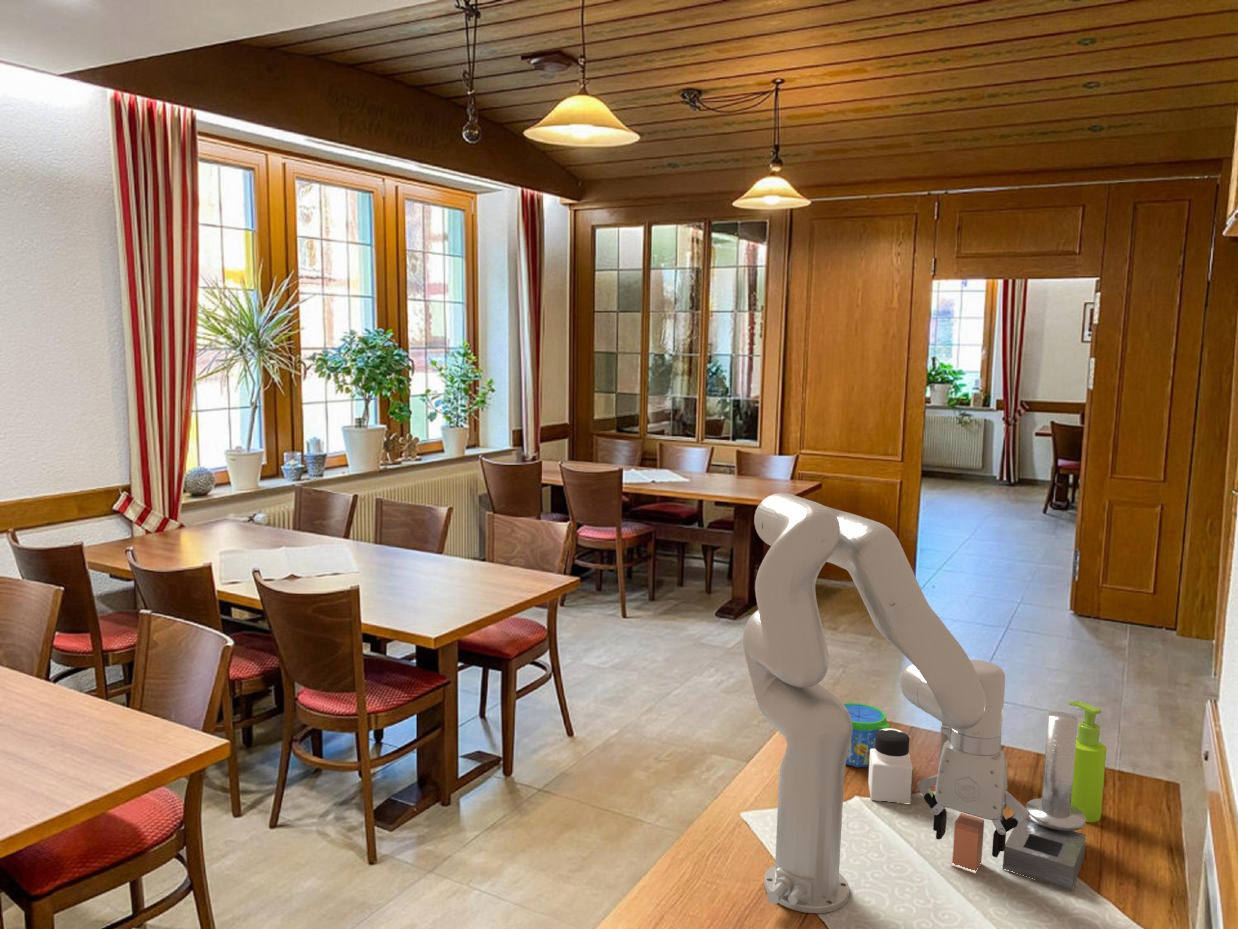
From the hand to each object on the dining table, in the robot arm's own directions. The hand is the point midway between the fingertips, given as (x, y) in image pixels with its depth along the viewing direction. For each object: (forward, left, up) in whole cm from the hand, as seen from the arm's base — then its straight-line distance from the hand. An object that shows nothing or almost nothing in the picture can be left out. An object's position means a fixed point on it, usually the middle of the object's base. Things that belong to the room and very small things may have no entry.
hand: (968, 844), depth 144 cm
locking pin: (0, 0, -3) cm, 3 cm away
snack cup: (+26, +28, -4) cm, 38 cm away
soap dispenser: (+30, -12, -4) cm, 33 cm away
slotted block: (+11, -10, -3) cm, 15 cm away
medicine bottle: (+16, +18, -4) cm, 24 cm away
